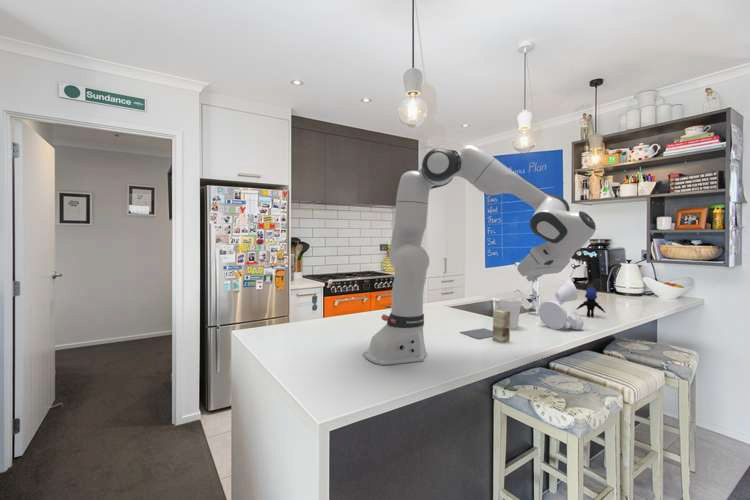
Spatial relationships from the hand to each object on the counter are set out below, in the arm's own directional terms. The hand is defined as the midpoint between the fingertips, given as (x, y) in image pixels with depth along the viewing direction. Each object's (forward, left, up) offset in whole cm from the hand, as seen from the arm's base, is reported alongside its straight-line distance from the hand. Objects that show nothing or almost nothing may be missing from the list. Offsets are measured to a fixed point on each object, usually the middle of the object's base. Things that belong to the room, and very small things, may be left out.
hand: (530, 279), depth 135 cm
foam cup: (+20, +27, -26) cm, 43 cm away
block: (+1, +14, -26) cm, 30 cm away
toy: (+75, +24, -26) cm, 83 cm away
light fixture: (+42, +19, -27) cm, 54 cm away
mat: (+1, +25, -26) cm, 36 cm away
